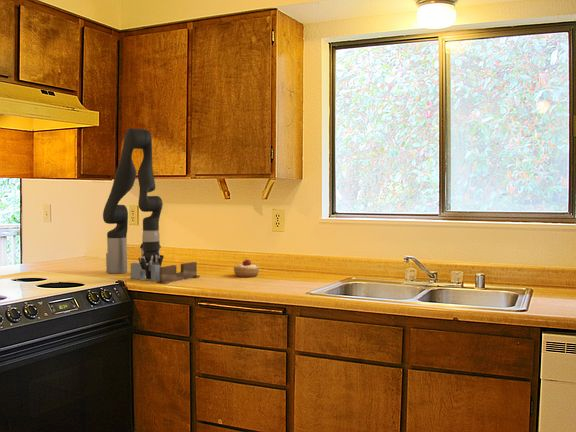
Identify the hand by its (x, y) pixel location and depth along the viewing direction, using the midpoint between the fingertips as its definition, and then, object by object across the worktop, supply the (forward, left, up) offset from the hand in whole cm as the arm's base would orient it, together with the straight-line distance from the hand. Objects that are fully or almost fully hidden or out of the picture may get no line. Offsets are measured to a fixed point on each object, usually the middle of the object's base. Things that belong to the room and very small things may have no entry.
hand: (151, 278), depth 281 cm
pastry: (+28, +34, -1) cm, 44 cm away
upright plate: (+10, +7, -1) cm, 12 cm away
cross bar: (-4, 0, -1) cm, 4 cm away
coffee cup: (-13, +12, -1) cm, 18 cm away
